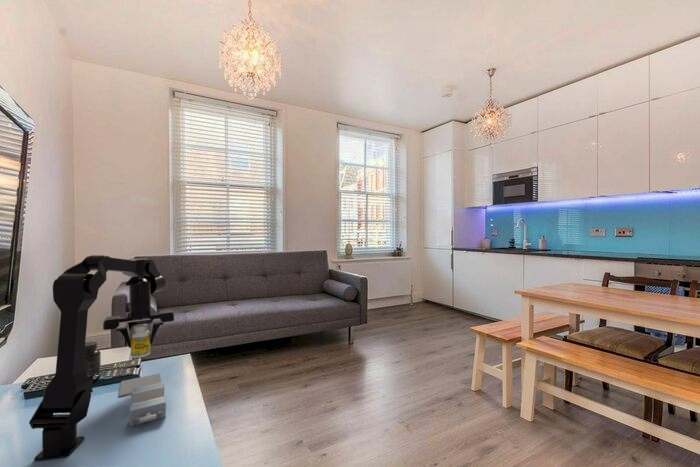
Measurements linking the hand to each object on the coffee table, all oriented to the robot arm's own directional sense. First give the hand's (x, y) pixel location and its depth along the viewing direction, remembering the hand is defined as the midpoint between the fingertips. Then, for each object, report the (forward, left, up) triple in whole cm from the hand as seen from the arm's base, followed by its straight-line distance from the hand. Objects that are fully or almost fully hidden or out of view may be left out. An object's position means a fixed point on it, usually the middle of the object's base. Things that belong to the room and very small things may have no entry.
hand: (140, 345), depth 104 cm
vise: (-17, -8, -13) cm, 23 cm away
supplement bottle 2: (0, 0, -3) cm, 3 cm away
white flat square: (0, 0, -13) cm, 13 cm away
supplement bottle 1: (+8, +19, -13) cm, 25 cm away
